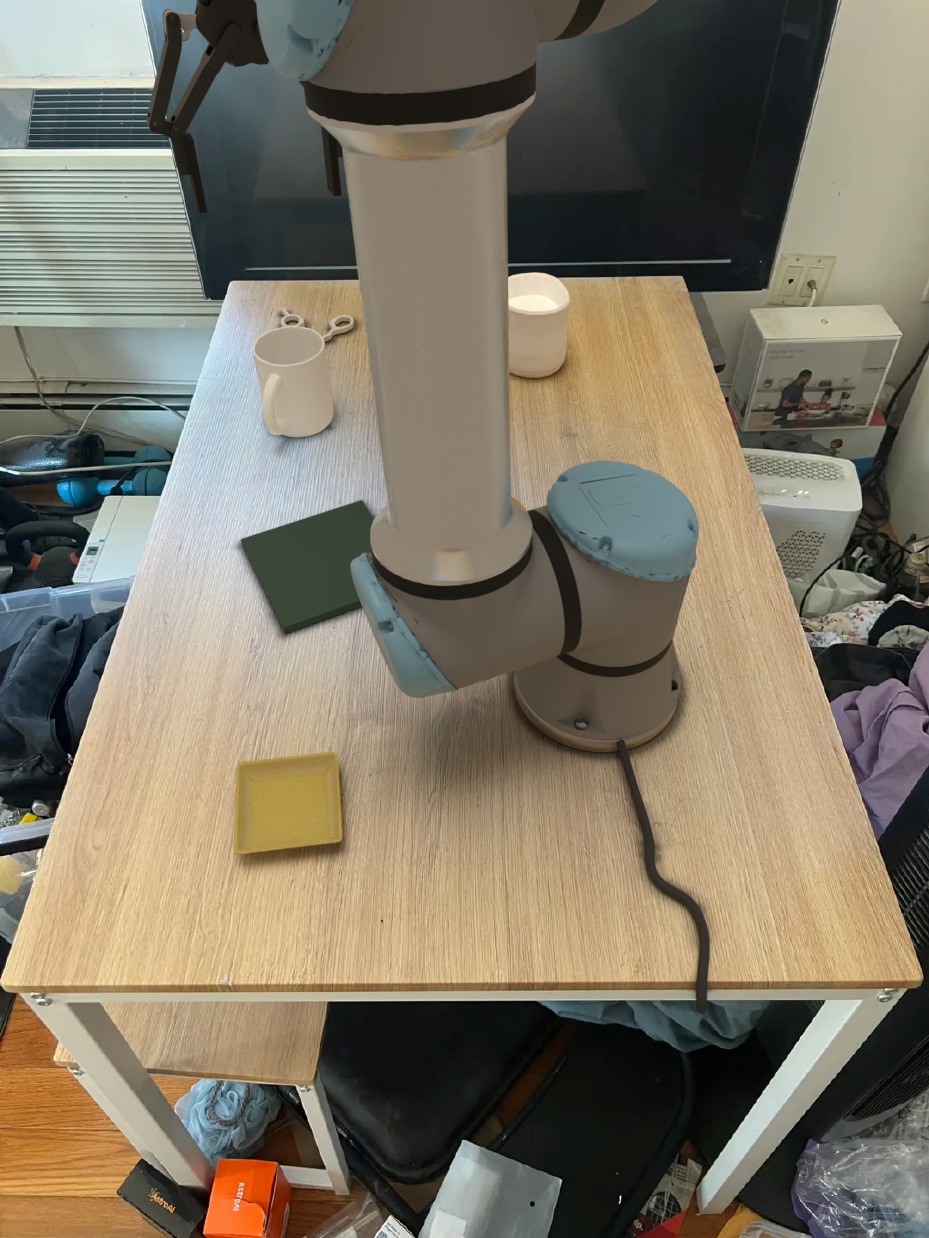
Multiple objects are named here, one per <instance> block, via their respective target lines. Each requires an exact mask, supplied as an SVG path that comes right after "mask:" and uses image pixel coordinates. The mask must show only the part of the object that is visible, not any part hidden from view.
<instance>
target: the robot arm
mask: <svg viewBox="0 0 929 1238" xmlns="http://www.w3.org/2000/svg"><path fill="white" fill-rule="evenodd" d="M657 2H658V0H196V5H195V11H194V13H191V12H176V11H175V10H173V9H172V8H166V9H165V10H164V11H163V13H162V25H163V33H164V34H163V35H164V39H163V40H164V41H163V45H162V50H161V53H160V57H159V63H158V67H157V71H156V75H155V78H154V83H153V87H152V92H151V97H150V101H149V106H148V110H147V112H146V113H147V114H146V118H145V119H146V120H145V121H146V122H145V123H146V124H147V127H148V128H149V130H150V131H151V132H152V133H153V134H155V135H163V136H165V137H167V138H169V140H170V145H171V149H172V155H173V159H174V164H175V165H174V166H175V168H176V171H178V173H179V175H180V177H183V176H189V180H190V187H191V192H192V194H193V195H192V197H193V202H194V206H195V208H196V210H197V212H198V213H199V214H207V213H208V210H207V204H206V198H205V194H204V188H203V182H202V177H201V171H200V167H199V161H198V156H197V150H196V146H195V145H196V144H195V140H194V138H193V137H192V134H190V132H187V131H188V130H189V127H190V125H191V124H192V121H193V119H194V118H195V116H196V114H197V112H198V110H199V109H200V107H201V105H202V103H203V101H204V99H205V97H206V96H207V94H208V92H209V90H210V88H211V86H212V85H213V82H214V81H215V79H216V77H217V75H218V74H220V72H221V70H222V69H223V67H224V65H225V63H226V64H228V65H230V66H232V67H234V68H239V67H245V66H247V65H249V64H253V65H254V64H255V65H258V66H262V65H264V66H265V65H269V63H270V65H271V67H272V68H273V69H274V71H275V72H276V73H277V74H278V75H280V76H281V77H283V78H288V79H290V80H293V81H295V82H298V84H299V85H300V86H301V87H302V88H303V92H304V100H305V105H306V111H307V114H308V115H309V116H310V117H311V118H312V119H313V120H314V121H316V123H318V124H319V125H320V131H321V140H322V148H323V157H324V158H323V159H324V168H325V177H326V187H327V190H328V192H329V193H331V195H332V196H333V197H341V196H342V195H343V194H342V186H341V175H340V164H339V159H340V158H343V167H344V172H345V173H344V174H345V182H346V189H347V190H346V191H347V198H348V205H349V213H350V222H351V228H352V237H353V244H354V252H355V253H354V254H355V261H356V269H357V276H358V285H359V291H360V300H361V301H360V302H361V309H362V315H363V324H364V333H365V339H366V348H367V349H366V350H367V356H368V362H369V363H368V364H369V371H370V380H371V388H372V395H373V403H374V412H375V418H376V427H377V435H378V443H379V444H378V445H379V452H380V458H381V467H382V468H381V469H382V475H383V483H384V491H385V492H384V493H385V498H386V504H385V505H384V506H383V507H382V508H381V509H380V511H379V512H378V513H377V514H376V516H375V517H374V521H373V523H372V526H371V530H370V544H371V550H372V553H369V552H368V553H362V554H361V556H359V557H357V558H355V559H354V560H353V561H352V562H351V564H350V568H351V569H350V571H351V575H352V579H353V582H354V585H355V588H356V591H357V594H358V596H359V599H360V602H361V605H362V606H361V607H362V609H363V612H364V615H365V618H366V620H367V622H368V626H369V627H370V630H371V632H372V635H373V638H374V639H375V642H376V644H377V647H378V649H379V651H380V654H381V657H382V658H383V661H384V664H385V665H386V667H387V669H388V671H389V674H390V676H391V679H393V682H394V684H395V685H396V687H397V688H398V690H399V691H400V692H402V693H403V694H404V695H406V696H408V697H410V698H415V699H423V698H428V697H432V696H436V695H439V694H440V695H441V694H444V693H449V692H450V693H454V692H455V691H459V690H460V689H463V688H466V687H469V686H472V685H475V684H478V683H482V682H484V681H487V680H491V679H493V678H496V677H499V676H502V675H505V674H509V673H511V672H514V679H513V683H514V684H513V685H514V691H515V692H514V693H515V696H516V699H517V702H518V704H519V706H520V708H521V710H522V711H523V713H524V715H525V716H526V718H527V719H528V720H529V721H530V722H531V724H532V725H533V726H534V727H536V729H538V730H539V731H540V732H541V733H543V734H544V735H546V736H547V737H549V738H551V739H552V740H554V741H556V742H558V743H560V744H563V745H564V746H567V747H570V748H573V749H577V750H581V751H586V752H592V753H593V752H595V753H614V752H618V755H619V758H620V761H621V764H622V768H623V771H624V775H625V778H626V781H627V786H628V788H629V791H630V794H631V798H632V801H633V804H634V807H635V810H636V813H637V817H638V820H639V824H640V827H641V831H642V836H643V841H644V864H645V867H646V872H647V874H648V876H649V878H650V879H651V881H652V882H653V883H654V885H655V886H657V888H659V889H660V890H661V891H663V892H664V893H666V894H667V895H669V896H671V897H673V898H674V899H676V900H678V901H680V902H681V903H682V904H684V905H685V906H686V907H687V908H688V909H689V911H690V913H691V915H692V917H693V919H694V922H695V925H696V929H697V935H698V960H697V969H696V981H695V982H696V985H695V1006H696V1010H697V1011H698V1013H699V1014H701V1015H704V1014H706V1013H707V1010H708V978H709V966H710V955H711V953H710V952H711V946H710V945H711V941H710V933H709V928H708V924H707V921H706V919H705V916H704V913H703V911H702V909H701V908H700V906H699V904H698V903H697V902H696V901H695V900H694V898H692V897H691V896H690V895H689V894H688V893H686V892H684V891H683V890H681V889H680V888H678V887H676V886H675V885H673V884H670V883H669V882H668V881H667V880H665V879H664V878H663V877H662V876H661V875H660V873H659V871H658V869H657V867H656V859H655V858H656V857H655V856H656V855H655V853H656V847H655V846H656V845H655V839H654V838H655V837H654V833H653V830H652V826H651V823H650V820H649V816H648V811H647V809H646V806H645V803H644V800H643V796H642V794H641V791H640V787H639V784H638V781H637V777H636V775H635V771H634V767H633V765H632V761H631V758H630V755H629V751H628V750H630V749H633V748H636V747H639V746H641V745H643V744H645V743H647V742H649V741H650V740H652V739H653V738H656V737H657V736H658V735H659V734H660V733H661V732H662V731H663V730H664V729H665V728H666V727H667V726H668V724H669V723H670V722H671V719H672V718H673V716H674V714H675V711H676V708H677V705H678V702H679V698H680V694H681V690H682V674H681V669H680V664H679V659H678V656H677V652H676V647H675V642H674V636H675V633H676V628H677V626H678V625H677V624H678V621H679V617H680V613H681V609H682V606H683V603H684V600H685V596H686V592H687V589H688V585H689V582H690V578H691V574H692V571H693V570H694V569H695V566H696V563H697V547H698V538H699V532H700V526H699V518H698V514H697V513H696V510H695V508H694V506H693V504H692V502H691V501H690V499H689V498H688V496H687V495H686V494H685V493H684V492H683V491H682V490H681V489H680V488H679V487H678V486H676V485H675V484H674V483H673V482H671V481H670V480H669V479H667V478H665V477H664V476H662V475H661V474H659V473H657V472H654V471H652V470H649V469H646V468H642V467H640V466H638V465H636V464H633V463H628V462H622V461H615V460H614V461H613V460H596V461H588V462H582V463H578V464H576V465H574V466H571V467H570V468H568V469H565V470H564V471H563V472H562V473H560V475H558V477H557V479H556V481H555V482H554V483H553V484H552V486H551V488H549V490H548V492H547V495H546V505H542V506H539V507H536V508H533V509H529V510H527V509H526V507H525V506H524V505H523V504H522V503H521V502H520V501H519V500H518V499H516V498H515V497H514V496H513V495H512V470H511V469H512V467H511V466H512V464H511V463H512V462H511V458H512V457H511V455H512V454H511V391H510V389H511V387H510V372H509V303H508V277H509V239H508V238H509V237H508V236H509V235H508V233H509V232H508V230H509V229H508V228H509V227H508V167H507V165H508V164H507V163H508V161H507V160H508V159H507V136H508V134H509V131H510V129H511V128H512V127H513V126H514V125H515V123H516V122H517V121H518V120H519V119H520V118H521V117H522V115H523V114H524V113H525V112H526V111H527V110H528V108H530V107H531V105H532V104H533V103H534V101H535V99H536V95H537V94H536V93H537V52H538V45H539V44H545V43H549V42H555V41H562V40H568V39H569V40H570V39H574V38H576V37H583V36H587V35H593V34H594V35H595V34H598V33H599V34H600V33H604V32H606V31H608V30H612V29H613V28H616V27H618V26H621V25H622V24H624V23H627V22H628V21H630V20H632V19H634V18H635V17H638V16H639V15H641V14H642V13H644V12H646V11H647V10H648V9H649V8H650V7H652V6H653V5H654V4H656V3H657ZM194 29H196V30H197V31H198V32H199V33H200V35H201V36H202V37H203V38H204V39H205V40H206V42H207V43H208V44H207V46H206V48H205V50H204V51H203V53H202V56H201V58H200V61H199V64H198V65H197V67H196V70H195V71H194V73H193V75H192V77H191V78H190V80H189V82H188V84H187V86H186V87H185V90H184V92H183V94H182V95H181V98H180V99H179V101H178V103H177V105H176V107H175V108H174V111H173V112H172V115H171V116H170V118H167V113H168V108H169V104H170V102H171V101H170V100H171V96H172V92H173V88H174V84H175V79H176V76H177V71H178V67H179V63H180V59H181V55H182V49H183V42H187V41H188V40H189V39H190V37H191V32H192V30H194Z"/></svg>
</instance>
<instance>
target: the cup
mask: <svg viewBox="0 0 929 1238" xmlns="http://www.w3.org/2000/svg"><path fill="white" fill-rule="evenodd" d="M508 303H509V374H511V375H514V376H518V377H522V378H527V379H539V378H544V377H549V376H550V377H551V375H553V374H554V373H557V372H558V370H560V369H561V367H562V366H563V364H564V362H565V360H566V357H567V348H568V314H569V307H570V304H571V294H570V292H569V290H568V289H567V287H566V286H565V284H564V283H563V282H562V281H561V280H560V279H558V278H557V277H556V276H555V275H552V274H551V275H550V274H549V273H545V272H525V273H523V272H522V273H517V274H512V275H510V276H508Z"/></svg>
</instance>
